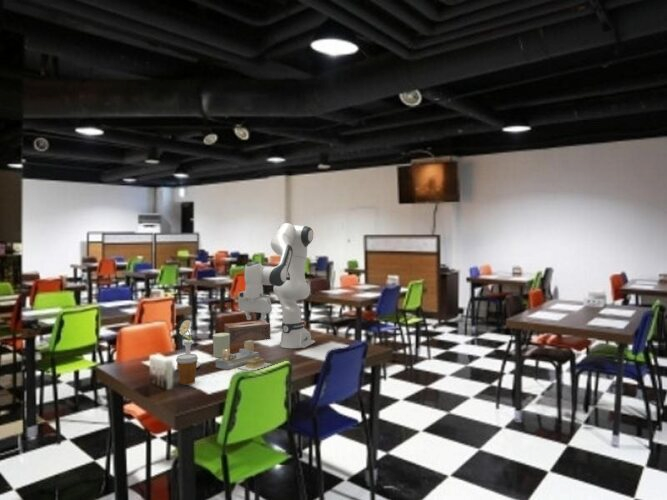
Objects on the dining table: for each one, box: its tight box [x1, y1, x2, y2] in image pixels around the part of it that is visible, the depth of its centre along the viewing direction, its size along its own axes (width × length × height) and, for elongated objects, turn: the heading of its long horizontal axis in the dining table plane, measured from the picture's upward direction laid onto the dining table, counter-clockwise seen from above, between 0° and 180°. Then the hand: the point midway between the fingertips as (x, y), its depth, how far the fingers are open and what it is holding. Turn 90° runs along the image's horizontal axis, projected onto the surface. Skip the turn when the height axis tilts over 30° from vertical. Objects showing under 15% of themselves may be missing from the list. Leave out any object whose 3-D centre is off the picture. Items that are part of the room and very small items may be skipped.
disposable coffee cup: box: [175, 353, 199, 386], centre depth 210 cm, size 10×10×12 cm
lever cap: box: [245, 356, 265, 368], centre depth 233 cm, size 8×5×4 cm, turn 146°
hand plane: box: [215, 340, 260, 371], centre depth 240 cm, size 22×9×10 cm, turn 146°
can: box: [212, 332, 231, 358], centre depth 257 cm, size 9×9×12 cm
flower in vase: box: [176, 319, 201, 369], centre depth 231 cm, size 13×11×25 cm
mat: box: [237, 362, 273, 372], centre depth 233 cm, size 14×10×1 cm
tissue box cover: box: [223, 320, 271, 345], centre depth 296 cm, size 26×14×10 cm, turn 114°
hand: (255, 320), depth 237 cm, fingers open, 8 cm apart
